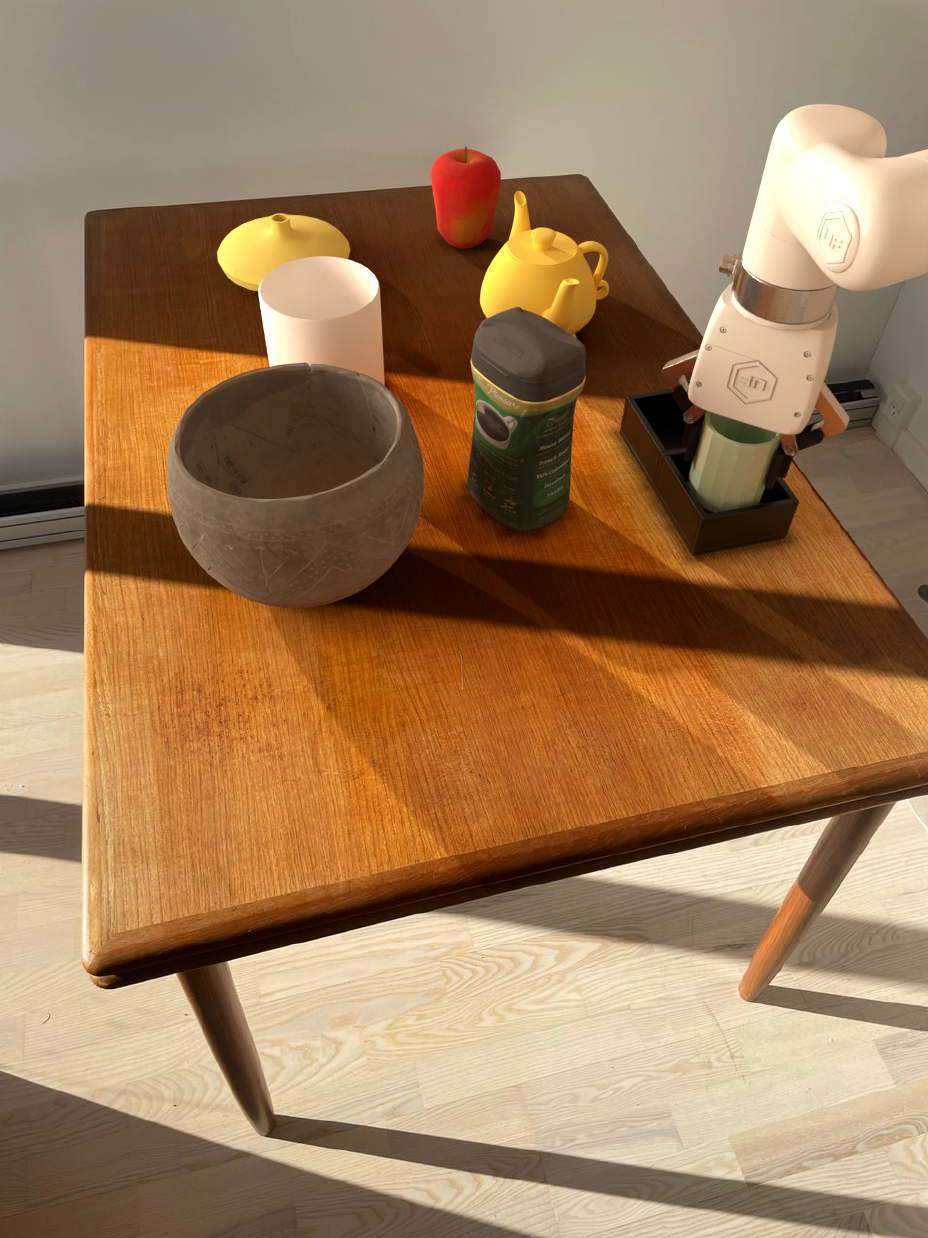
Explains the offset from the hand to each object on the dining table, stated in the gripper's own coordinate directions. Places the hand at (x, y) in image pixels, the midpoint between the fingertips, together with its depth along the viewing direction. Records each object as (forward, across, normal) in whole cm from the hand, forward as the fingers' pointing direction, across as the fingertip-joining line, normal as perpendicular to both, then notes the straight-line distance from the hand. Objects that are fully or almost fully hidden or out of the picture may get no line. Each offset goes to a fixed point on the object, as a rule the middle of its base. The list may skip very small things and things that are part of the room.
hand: (732, 464), depth 87 cm
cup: (+6, -42, -2) cm, 43 cm away
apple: (+6, -44, +34) cm, 56 cm away
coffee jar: (+6, -18, -8) cm, 20 cm away
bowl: (+6, -30, -24) cm, 39 cm away
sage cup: (+3, 0, 0) cm, 3 cm away
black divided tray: (+6, -3, +3) cm, 7 cm away
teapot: (+6, -28, +20) cm, 35 cm away
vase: (+6, -60, +16) cm, 62 cm away
